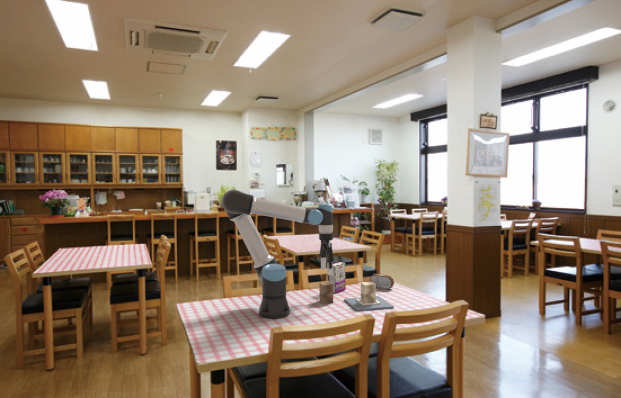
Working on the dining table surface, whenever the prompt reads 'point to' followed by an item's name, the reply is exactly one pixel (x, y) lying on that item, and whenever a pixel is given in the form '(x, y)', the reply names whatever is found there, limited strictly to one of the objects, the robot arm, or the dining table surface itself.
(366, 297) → the birch block
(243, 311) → the dining table surface
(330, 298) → the walnut block
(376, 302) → the square frame
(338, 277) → the candy bar box
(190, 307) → the dining table surface
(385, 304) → the baseboard
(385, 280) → the tin
